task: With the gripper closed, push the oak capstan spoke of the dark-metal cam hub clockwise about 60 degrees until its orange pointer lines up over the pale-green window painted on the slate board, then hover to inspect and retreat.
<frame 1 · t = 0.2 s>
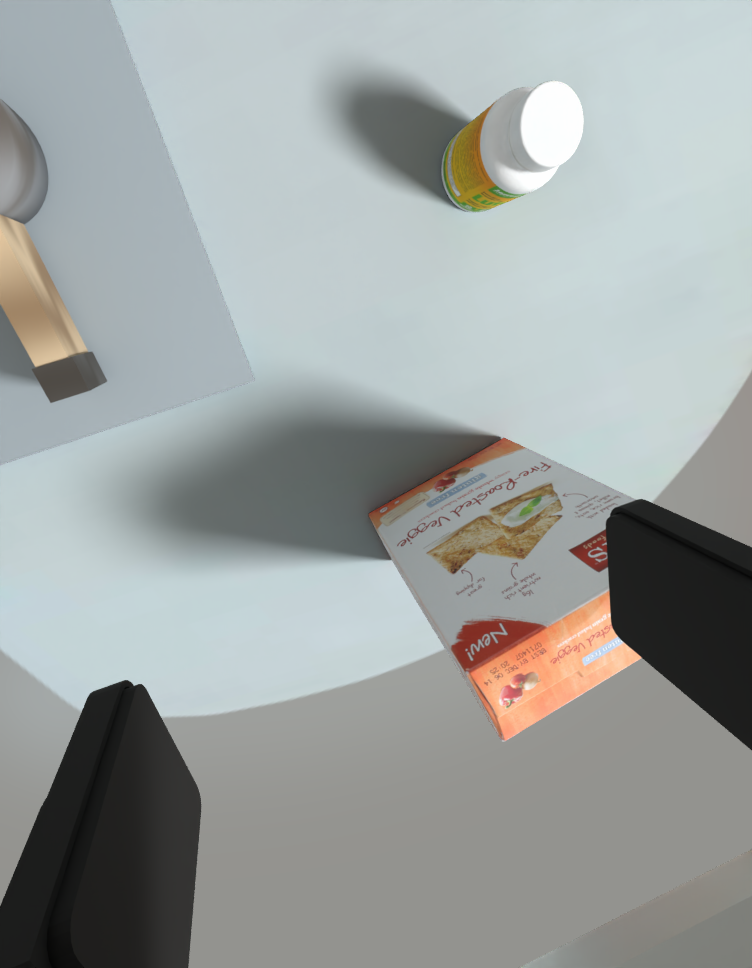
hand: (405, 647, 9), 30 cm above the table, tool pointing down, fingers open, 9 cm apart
supplement bottle: (472, 172, 36), on the table
cracker box: (444, 497, 44), on the table
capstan: (2, 246, 26), point 4 cm above the table, hinge at 0.0°
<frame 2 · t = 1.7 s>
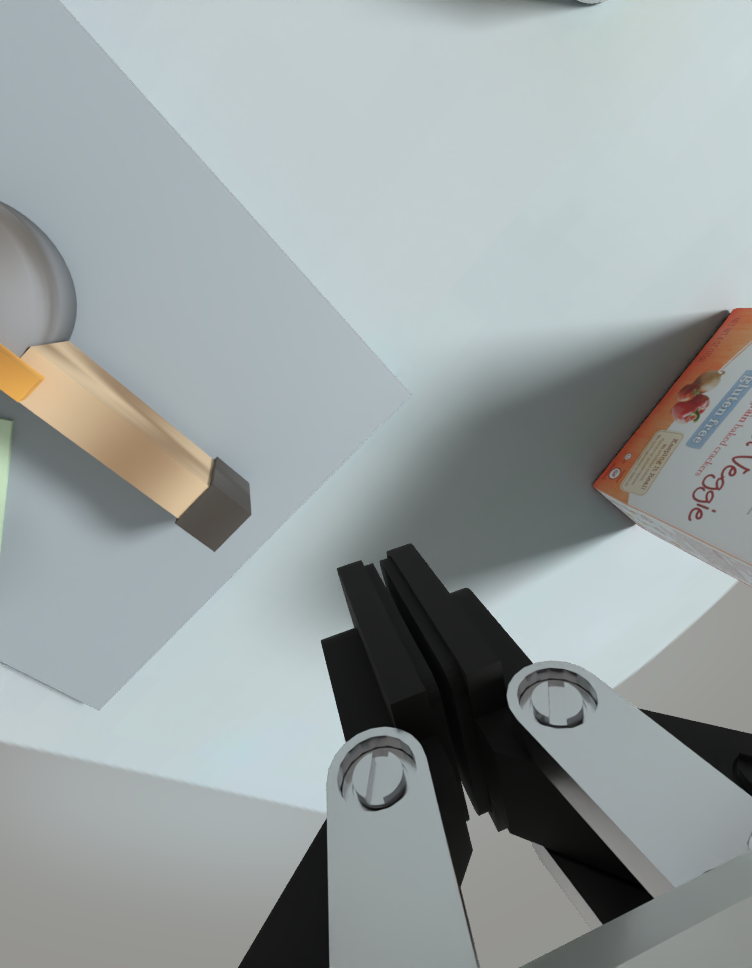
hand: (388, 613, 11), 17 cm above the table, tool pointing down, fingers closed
board: (7, 360, 21), on the table
cracker box: (676, 421, 32), on the table
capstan: (63, 385, 18), point 4 cm above the table, hinge at 0.0°
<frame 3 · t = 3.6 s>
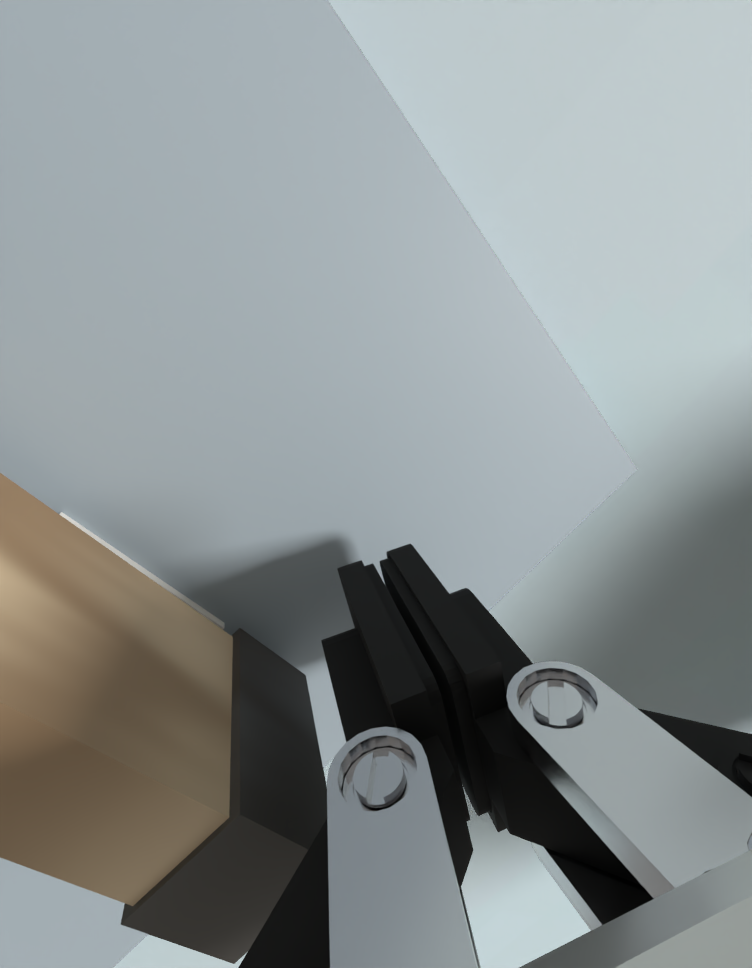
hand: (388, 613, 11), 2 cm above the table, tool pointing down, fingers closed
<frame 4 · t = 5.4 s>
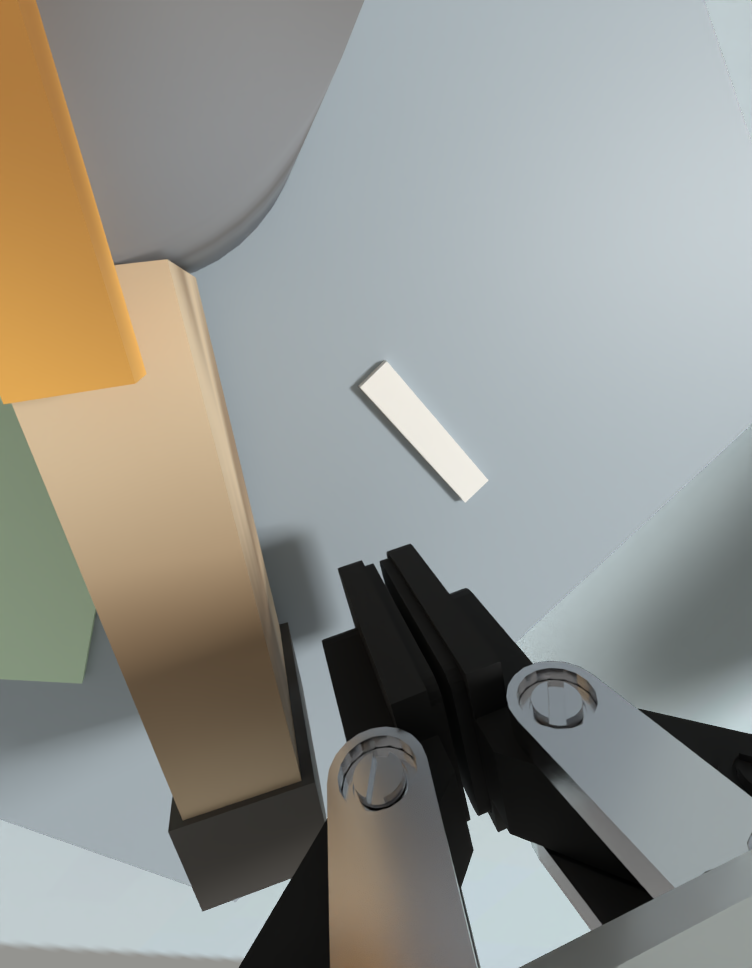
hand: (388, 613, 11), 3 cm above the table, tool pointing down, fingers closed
board: (120, 251, 10), on the table
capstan: (139, 376, 7), point 4 cm above the table, hinge at -34.8°, touching gripper
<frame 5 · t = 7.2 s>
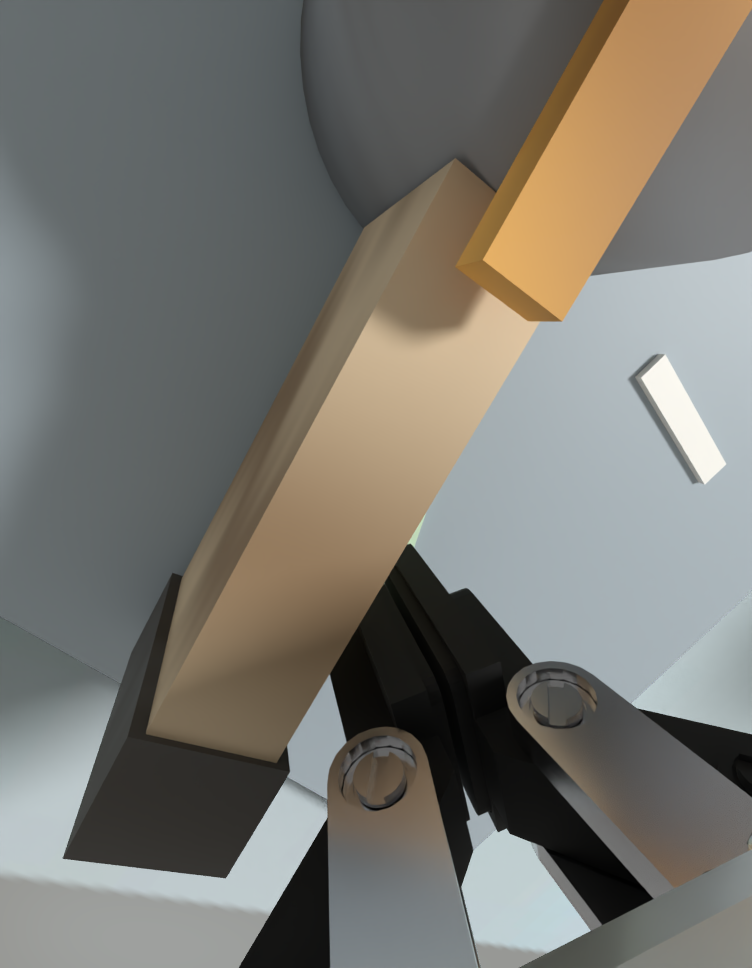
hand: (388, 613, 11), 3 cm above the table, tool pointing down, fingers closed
board: (447, 260, 11), on the table
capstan: (411, 318, 7), point 4 cm above the table, hinge at -73.0°, touching gripper
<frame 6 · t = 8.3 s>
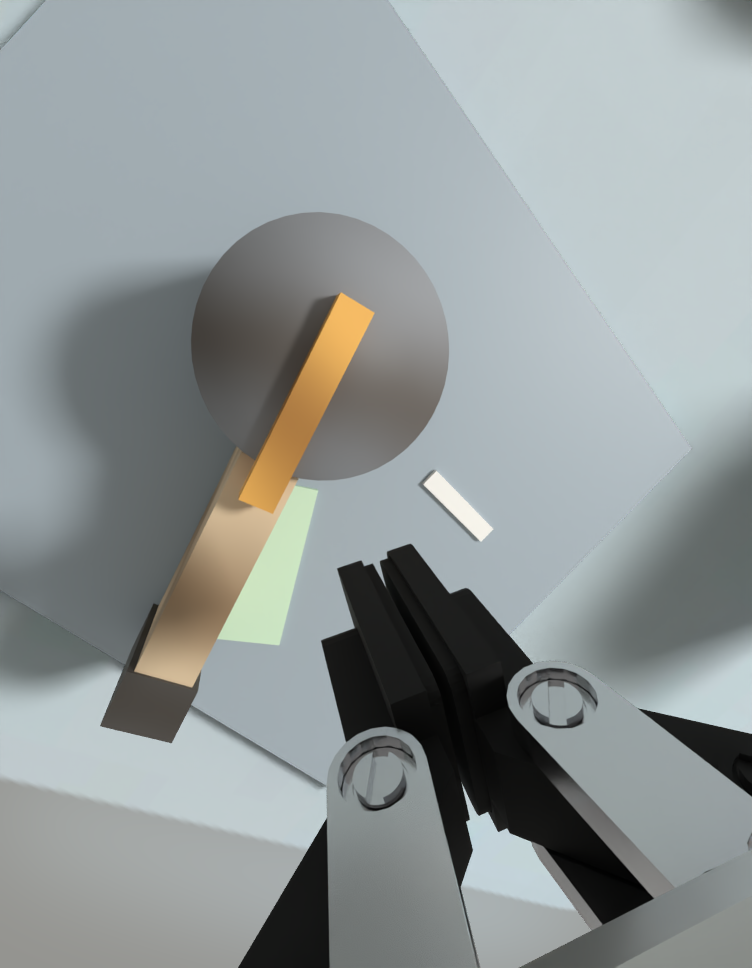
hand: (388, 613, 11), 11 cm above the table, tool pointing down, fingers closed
board: (306, 425, 20), on the table
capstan: (252, 487, 16), point 4 cm above the table, hinge at -73.1°
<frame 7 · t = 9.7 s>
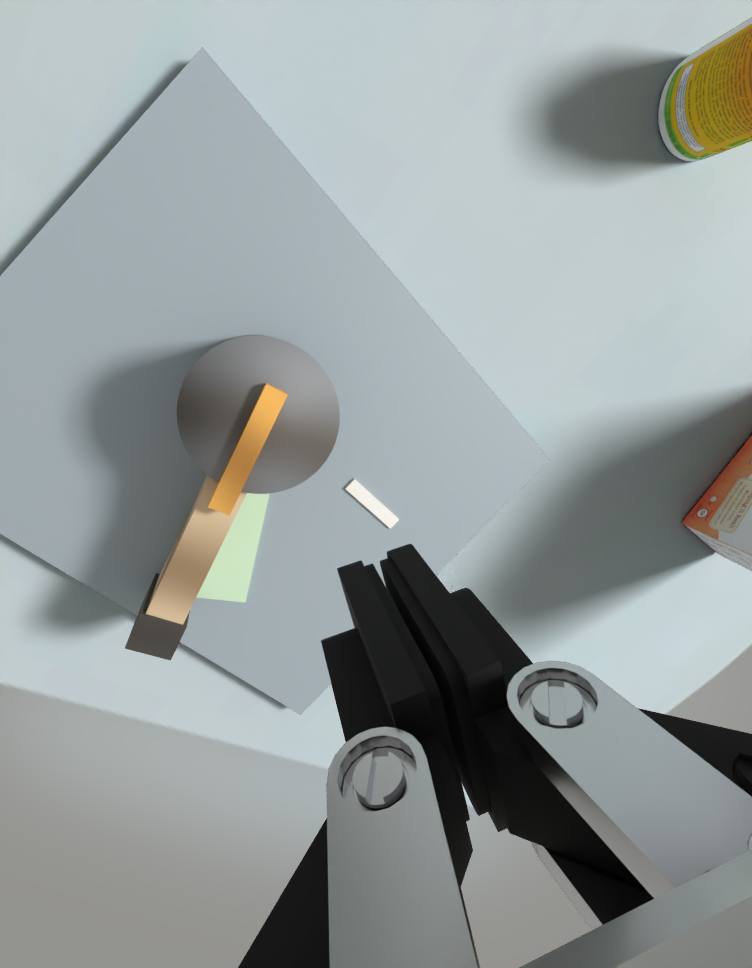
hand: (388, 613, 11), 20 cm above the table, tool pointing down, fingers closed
supplement bottle: (690, 112, 29), on the table
board: (261, 448, 28), on the table
cracker box: (749, 467, 38), on the table
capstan: (219, 496, 24), point 4 cm above the table, hinge at -73.1°
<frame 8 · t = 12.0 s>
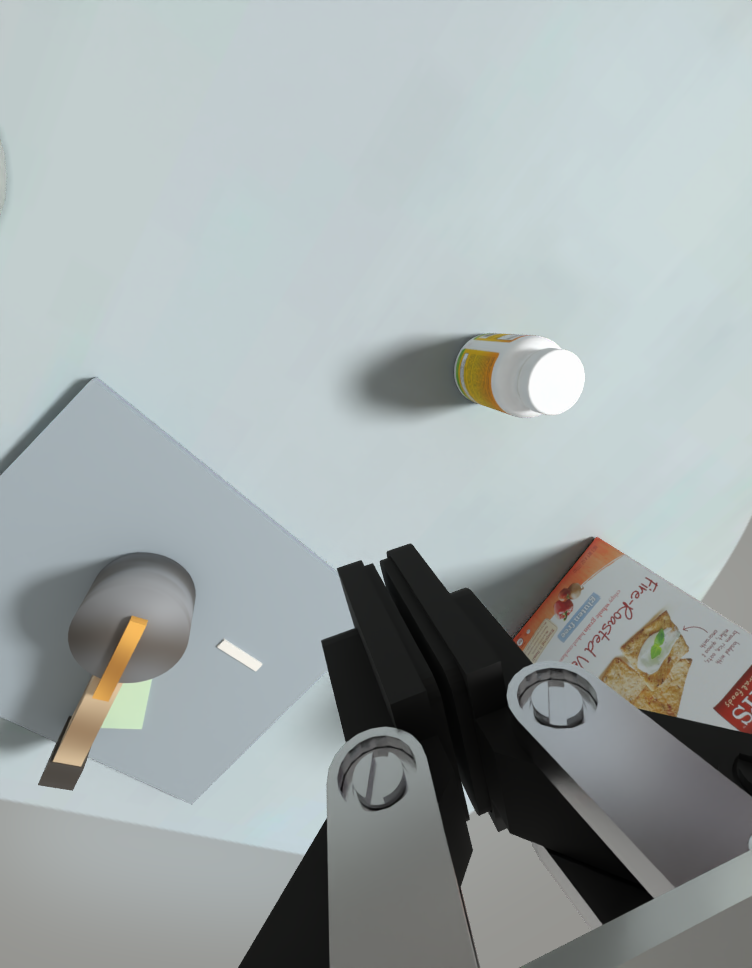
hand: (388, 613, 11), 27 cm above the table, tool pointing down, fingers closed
supplement bottle: (482, 368, 39), on the table
board: (152, 618, 38), on the table
cracker box: (564, 601, 48), on the table
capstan: (109, 673, 34), point 4 cm above the table, hinge at -73.1°
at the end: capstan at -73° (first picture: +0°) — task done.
